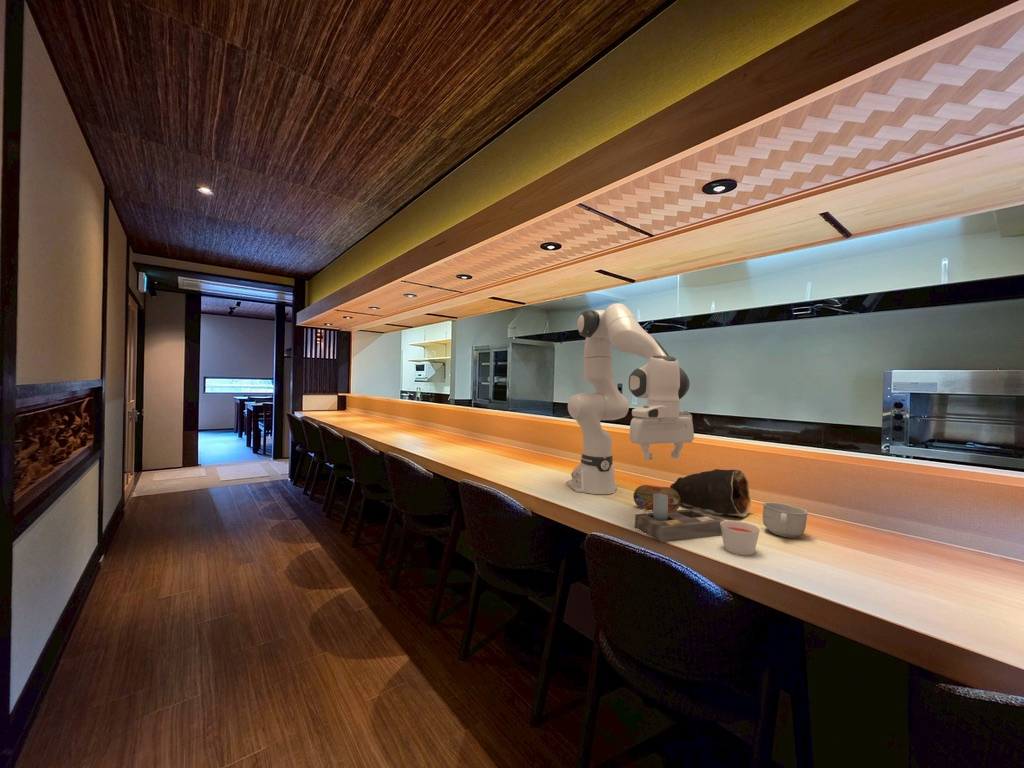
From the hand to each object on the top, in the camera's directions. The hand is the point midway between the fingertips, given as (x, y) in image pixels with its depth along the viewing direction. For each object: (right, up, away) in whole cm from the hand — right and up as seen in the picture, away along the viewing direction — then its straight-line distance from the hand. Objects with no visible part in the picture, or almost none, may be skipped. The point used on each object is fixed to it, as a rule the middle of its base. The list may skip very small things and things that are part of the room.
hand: (661, 458), depth 121 cm
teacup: (+34, -22, -1) cm, 41 cm away
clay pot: (+24, -22, +23) cm, 40 cm away
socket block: (+5, -21, 0) cm, 22 cm away
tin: (+6, -22, +20) cm, 30 cm away
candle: (+15, -22, -13) cm, 30 cm away
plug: (0, -21, 0) cm, 21 cm away
